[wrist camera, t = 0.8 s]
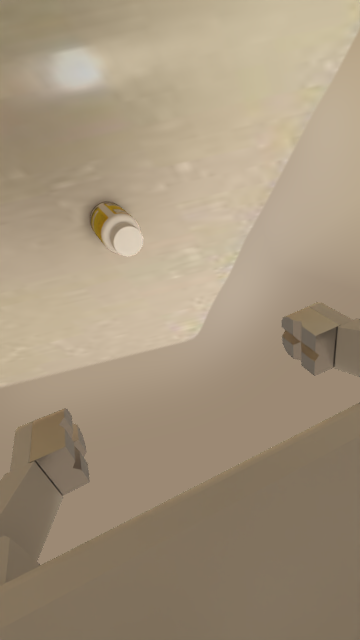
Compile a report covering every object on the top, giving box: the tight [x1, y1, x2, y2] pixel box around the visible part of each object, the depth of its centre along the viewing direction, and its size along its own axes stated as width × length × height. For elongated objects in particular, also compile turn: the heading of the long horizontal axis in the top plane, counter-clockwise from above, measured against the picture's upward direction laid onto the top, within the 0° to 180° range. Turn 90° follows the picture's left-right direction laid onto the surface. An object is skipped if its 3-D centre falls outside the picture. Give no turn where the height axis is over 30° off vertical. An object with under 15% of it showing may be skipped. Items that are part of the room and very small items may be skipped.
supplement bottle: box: [90, 202, 143, 257], centre depth 42 cm, size 5×5×10 cm
